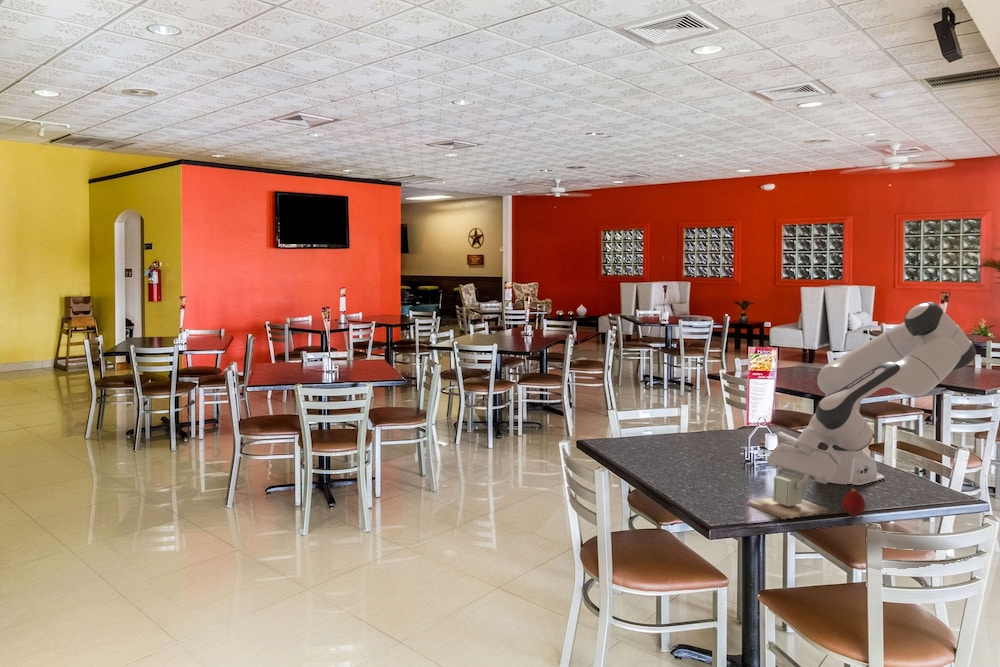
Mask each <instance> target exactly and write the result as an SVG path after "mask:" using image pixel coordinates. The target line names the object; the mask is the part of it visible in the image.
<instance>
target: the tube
mask: <svg viewBox="0 0 1000 667" xmlns="http://www.w3.org/2000/svg"><path fill="white" fill-rule="evenodd" d="M775 434H776V435H777V437H778V443H779V444H780V443H782V442H785V441H788V442H791V443H795V442H796V441H797V439H798V438H796V437H793V435H792V436H791V435H789V434H787V433H786V432H784V431H776V433H775ZM784 444H785V443H784Z"/></svg>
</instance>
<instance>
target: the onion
mask: <svg viewBox="0 0 1000 667" xmlns="http://www.w3.org/2000/svg"><path fill="white" fill-rule="evenodd" d="M841 507H842V509H843V510H844V511H845V512H846V513H847V514H848V515H849V516H850V517H851V516H852V517H851V518H854V517H856V516H858V515H860V514H862V513H863V512H864V510H865V508H866V501H865V499H864V497H863V495H861V494H860V493H859V492H858V491H857V490H856V489H855V488H850V491H848V492H847V493H846V494H844V496H843V497H842V500H841Z"/></svg>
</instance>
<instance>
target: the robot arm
mask: <svg viewBox="0 0 1000 667" xmlns="http://www.w3.org/2000/svg"><path fill="white" fill-rule="evenodd" d="M904 316H905V317H904V320H903V322H901V323H900V324H897V325H895V326H894V327H891V328H890V329H888V330H886V331H884V332H882V333H881V334H879V335H877V336H875V337H873V338H872V339H870V340H869V341H866V342H865V343H863V344H861V345H860V346H857V347H856V348H854V349H853V350H850V351H849V352H846V353H844V354H843V355H842V356H839V357H838V358H835V359H833V360H832V361H830V362H828V363H826V364H825V365H824V366H822V368H821V369H820V370H819V372H818V375H817V379H816V381H817V385H818V388H819V389H820V391H821V392H822V393H824V394H825V396H823V397H822V398H821V399H820V401H819V402H818V404H817V406H816V410H815V413H814V414H813V415H812V417H811V418H810V420H809V424H808V425H807V427H805V428H804V429H803V431H802V432H801V434H800V435H798V436H799V437H798V438H796V439H797V441H796V442H795V443H791V442H788V441H785V442H782V443H780V444H779V445H778V444H777V445H776V446H777V447H776V448H775V449H774V450H773V451H772V450H771V452H770V453H769V455H768V456H767V457H766V462H767V464H768V465H769V466H770V467H771V468H772V469H774V470H776V471H775V474H776V475H775V476H780V475H785V473H787V474H790V475H793V476H794V475H796V477H800V478H801V479H802V480H801V481H800V482H798V481H797V482H796V484H795V485H794V487H795V489H797V490H800V491H801V490H802V491H803V488H804V487H805V486H807V485H809V484H811V483H812V481H814V482H817V483H821V484H825V485H827V484H828V483H831V484H836V485H837V484H838V485H847V484H854V485H860V484H864V483H868V482H871V481H875V480H879V479H882V478H885V476H884V475H883V474H881V473H879V472H878V471H877V470H878V469H877V462H876V460H875V459H874V458H873V457H872V456H871V455H870V454H868V452H866V451H865V450H864V449H866V448H867V447H868V446H869V445H870V444H871V442H872V441H873V438H874V430H873V428H872V427H871V425H870V424H869V422H868V421H866V419H865V417H863V416H862V414H861V413H860V409H861V408H860V407H861V403H862V401H863V400H864V399H866V398H868V397H869V396H871V395H872V394H874V393H876V392H877V391H879V390H881V389H885V388H889V389H893V390H894V391H897V392H898V393H900V394H902V395H905V396H910V397H920V396H924V395H926V394H927V393H929V392H930V391H932V390H933V389H934V388H935V387H936V386H937V385H939V384H940V383H941V382H942V381H943V380H944V379H946V378H947V376H948V375H949V374H951V372H952V371H959V370H961V369H963V368H966V367H967V366H969V365H970V364H971V363H972V362H973V361H974V359H975V357H976V355H977V351H976V347H975V345H974V343H973V342H972V341H971V340H970V339H969V338H968V337H967V335H966V334H965V332H964V330H963V329H962V328H961V326H960V325H959V324H958V323H956V322H955V321H954V320H953V319H952V318H951V317H950V316H949V315H948V314H947V313H946V312H944V309H943V308H942V307H941V306H939V305H938V304H936V303H935V302H933V301H925V302H924V301H923V302H921V303H919V304H917V305H915V306H913V307H912V308H911V309H909V310H908V311H907V313H906V314H905V315H904ZM784 443H785V444H784ZM854 485H853V486H854Z"/></svg>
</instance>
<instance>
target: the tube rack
mask: <svg viewBox="0 0 1000 667" xmlns="http://www.w3.org/2000/svg"><path fill="white" fill-rule="evenodd" d="M765 442H766V441H764V440H760V441H759V446H760V445H762V446H764V445H765Z"/></svg>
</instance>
